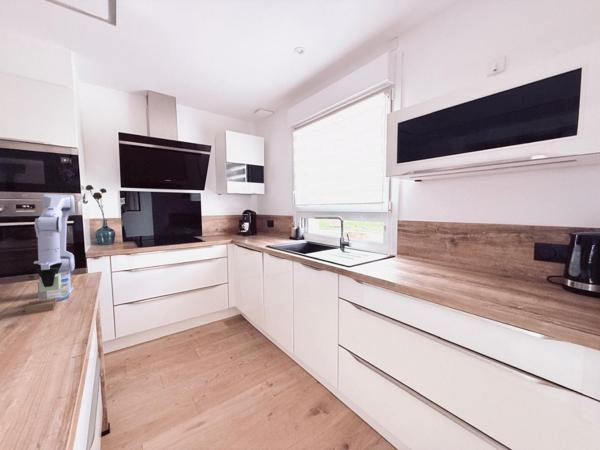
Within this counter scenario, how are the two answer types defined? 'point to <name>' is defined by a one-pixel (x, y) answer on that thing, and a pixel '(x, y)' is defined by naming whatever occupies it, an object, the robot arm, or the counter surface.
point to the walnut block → (40, 305)
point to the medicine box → (56, 291)
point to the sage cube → (55, 286)
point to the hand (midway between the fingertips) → (50, 284)
